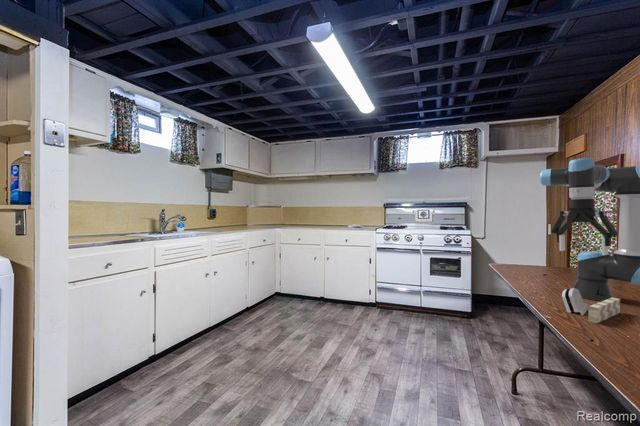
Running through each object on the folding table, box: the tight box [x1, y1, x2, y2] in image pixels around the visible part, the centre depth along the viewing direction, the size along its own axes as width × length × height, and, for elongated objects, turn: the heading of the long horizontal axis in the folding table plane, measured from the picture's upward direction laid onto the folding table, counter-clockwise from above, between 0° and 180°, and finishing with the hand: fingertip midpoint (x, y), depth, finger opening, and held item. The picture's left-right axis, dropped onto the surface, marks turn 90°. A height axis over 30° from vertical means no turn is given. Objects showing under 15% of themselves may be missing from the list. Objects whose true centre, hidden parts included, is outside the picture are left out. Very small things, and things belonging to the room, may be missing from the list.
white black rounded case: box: [561, 287, 590, 316], centre depth 132 cm, size 17×5×10 cm, turn 131°
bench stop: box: [587, 296, 621, 324], centre depth 123 cm, size 26×2×6 cm, turn 121°
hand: (582, 252), depth 117 cm, fingers open, 13 cm apart
